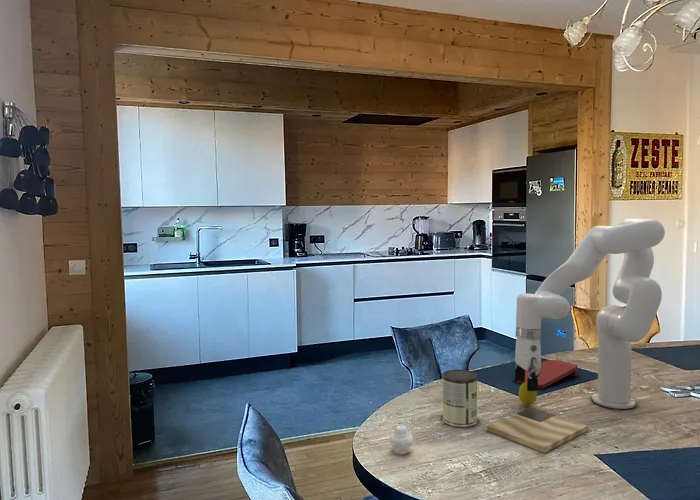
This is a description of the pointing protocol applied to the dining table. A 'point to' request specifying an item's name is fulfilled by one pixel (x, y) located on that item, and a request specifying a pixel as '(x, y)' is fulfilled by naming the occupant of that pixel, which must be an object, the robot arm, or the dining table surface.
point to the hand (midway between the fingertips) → (525, 385)
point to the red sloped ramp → (553, 372)
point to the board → (537, 429)
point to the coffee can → (460, 398)
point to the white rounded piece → (401, 440)
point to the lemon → (527, 395)
